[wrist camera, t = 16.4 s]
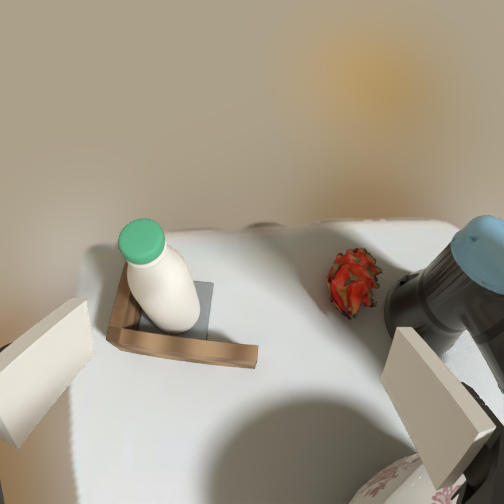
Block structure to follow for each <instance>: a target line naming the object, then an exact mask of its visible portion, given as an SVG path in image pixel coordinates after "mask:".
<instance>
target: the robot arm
mask: <svg viewBox="0 0 504 504" xmlns="http://www.w3.org/2000/svg"><path fill="white" fill-rule="evenodd" d="M385 321H386V326H387V329H388V331H389V334H390V336H391V337H392V339H393V342H392V345H391V348H390V351H389V355H388V358H387V361H386V364H385V367H384V370H383V373H382V376H381V378H380V380H381V382H382V384H383V386H384V388H385V390H386V392H387V393H388V395H389V397H390V399H391V401H392V403H393V405H394V407H395V409H396V411H397V412H398V414H399V416H400V418H401V420H402V422H403V424H404V426H405V428H406V430H407V432H408V434H409V436H410V438H411V440H412V442H413V444H414V446H415V448H416V450H417V452H418V454H419V456H420V458H421V460H422V462H423V464H424V466H425V468H426V471H427V473H428V475H429V477H430V479H431V481H432V483H433V485H434V488H435V490H439V489H443V488H446V487H449V486H451V485H454V484H455V483H456V481H457V480H458V479H459V478H460V477H461V475H462V474H464V476H465V478H466V480H465V482H464V483H463V484H462V485H461V486H460V487H459V489H458V490H457V491H456V492H455V493H454V494H453V495H452V497H451V500H453V499H454V498H455V497H456V496H457V495H458V494H459V496H458V499H457V502H456V504H504V426H503V425H502V423H501V422H500V421H499V420H498V418H497V417H496V416H495V415H494V413H493V412H492V411H491V410H490V409H489V407H488V406H487V405H486V406H485V403H484V401H483V400H482V399H480V397H479V395H478V394H477V393H476V392H475V391H474V390H473V388H471V387H470V386H468V385H467V384H465V383H464V382H460V381H459V380H458V379H457V378H456V376H455V375H454V374H453V373H452V372H451V371H450V369H449V368H448V367H447V366H446V365H445V364H444V363H443V361H442V360H441V359H440V358H439V357H438V356H439V355H441V354H443V353H445V352H446V351H447V350H449V349H450V348H451V347H452V346H453V345H454V343H455V342H456V340H457V339H458V338H459V337H460V335H461V334H462V333H463V331H464V330H466V329H467V330H468V332H469V333H470V335H471V336H472V338H473V339H474V341H475V343H476V345H477V346H478V348H479V350H480V352H481V353H482V355H483V357H484V359H485V360H486V362H487V364H488V366H489V368H490V370H491V371H492V373H493V375H494V377H495V379H496V381H497V383H498V387H499V389H500V390H501V392H502V393H503V394H504V220H502V219H500V218H496V217H494V216H489V215H484V216H479V217H476V218H474V219H473V220H471V221H470V222H469V223H468V224H467V225H466V226H465V227H464V228H463V229H462V230H460V231H458V232H457V233H456V234H455V235H454V237H453V239H452V241H451V242H450V244H449V245H448V246H447V247H446V248H445V249H444V250H443V251H442V252H441V253H440V254H439V255H438V256H437V257H436V258H435V259H434V260H433V261H432V262H431V263H430V264H429V266H428V267H427V268H425V269H422V270H419V271H416V272H413V273H410V274H408V275H406V276H404V277H403V278H402V279H400V280H399V281H398V282H397V283H396V284H395V285H394V286H393V288H392V289H391V290H390V292H389V294H388V296H387V299H386V303H385ZM94 354H95V353H94V347H93V341H92V335H91V329H90V322H89V315H88V307H87V300H86V299H81V298H75V297H72V298H71V299H69V300H68V301H67V302H65V303H64V304H63V305H61V306H60V307H58V308H57V309H56V310H54V311H53V312H52V313H50V314H49V315H48V316H46V317H45V318H44V319H42V320H41V321H40V322H39V323H37V324H36V325H34V326H33V327H32V328H31V329H29V330H28V331H27V332H25V333H24V334H23V335H22V336H20V337H19V338H18V339H17V340H15V341H14V342H12V343H10V344H7V345H5V346H3V347H2V348H0V436H1V437H2V439H3V441H5V442H6V443H8V444H10V445H11V446H13V447H15V448H17V449H19V448H20V447H21V446H22V444H23V443H24V442H25V440H26V439H27V438H28V436H29V435H30V434H31V432H32V431H33V430H34V428H35V427H36V426H37V425H38V423H39V422H40V421H41V419H42V418H43V417H44V415H45V414H46V413H47V412H48V410H49V409H50V408H51V407H52V405H53V404H54V403H55V401H56V400H57V399H58V397H59V396H60V395H61V394H62V393H63V391H64V390H65V389H66V388H67V387H68V385H69V384H70V383H71V382H72V380H73V379H74V378H75V377H76V376H77V374H78V373H79V372H80V371H81V369H82V368H83V367H84V366H85V365H86V363H87V362H88V361H89V360H90V359H91V358H92V356H93V355H94ZM0 504H5V503H4V498H3V493H2V488H1V482H0Z"/></svg>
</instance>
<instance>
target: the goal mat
mask: <svg viewBox="0 0 504 504" xmlns="http://www.w3.org/2000/svg"><path fill="white" fill-rule="evenodd" d="M193 282H194V286H195V289H196V292H197V296H198V299H199V303H200V315H199V318H198V320H197V322H196V323H195V324H194V326H193V327H192V328H190V329H189V330H187V331H185V332H183V333H179V334H169V333H166V332H163V331H162V330H160V329H159V328H158V327H157V326H156V325H155V324H154V323H153V322H152V321H151V319H150V318H149V317H148V316H147V314H146V313H145V312H144V310H142V315H141V320H140V325H139V330H138V331H141V332H147V333H153V334H160V335H167V336H174V337H182V338H189V339H197V340H206V337H207V329H208V322H209V314H210V307H211V300H212V292H213V285H214V283H208V282H198V281H193Z"/></svg>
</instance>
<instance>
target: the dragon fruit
mask: <svg viewBox="0 0 504 504" xmlns="http://www.w3.org/2000/svg"><path fill="white" fill-rule="evenodd" d="M375 264H376V259H374V258H373V257H372V256H371V254H370V253H368V252H367V251H366V249H365V248H364V249H363V248H356V249H353V250H352V249H347V251H346V254H345V255H343V254H342V253H339V254H338V255H337V256H336V259H335V261H334V265H333V267H332V269H331V270H330V272H329V275H328V276H327V277H326V283H327V287H328V290H329V293H330V300H331V302H332V303H334V305H335V306H336V308H337V309H338V310H339V311H340V313H341V314H342V315H344V316H346V317H347V318H348V319H349V320H351V318H350V316H353V317H355V315H357V313H358V312H359V309H360V306H361V304H362V303H363V305H364V306H365V307H366V306H367V307H375V306H376V305H377V302H375V303H373V299H372V296H373V293H372V288H375V289H377V288H379V287H380V285H379V284H378V283H376V282H377V281H378V279H377V277H376V276H375V275H378V274H380V273H382V270H381V269H380V268H378V267H377V266H375ZM374 276H375V277H374Z"/></svg>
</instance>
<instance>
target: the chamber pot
mask: <svg viewBox="0 0 504 504" xmlns="http://www.w3.org/2000/svg"><path fill="white" fill-rule="evenodd" d="M465 480H466V478H465V476H464V474H462V475H461V477H460V478H459V479H458V480H457V481H456V483H455V484H454V485H451V486H449V487H446V488H443V489H439V490H435V488H434V485H433V483H432V481H431V479H430V477H429V475H428V473H427V471H426V468H425V466H424V464H423V462H422V460H421V458H420V456H419V454H418V453H417V454H414V455H410V456H406V457H403V458H401V459H399V460H398V461H396V462H394V463H392V464H391V465H389V466H387V467H385V468H383V469H382V470H380V471H379V472H378V473H377V474H376V475H374V476H373V477H372V478H371V479H370V480H369V481H368V482H367V483H365V484H364V485H363V486H362V487H361V488H360V489H359V490H358V491H357V493H356V494H355V495H354V497H353V498H352V499H351V501H350V502H349V503H348V504H456V502H457V499H458V496H459V494H458V495H457V496H456V497H455V498H454V499H453V500H451V497H452V495H453V494H454V493H455V492H456V491H457V490H458V489H459V487H460V486H461V485H462V484H463V483H464V482H465Z"/></svg>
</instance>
